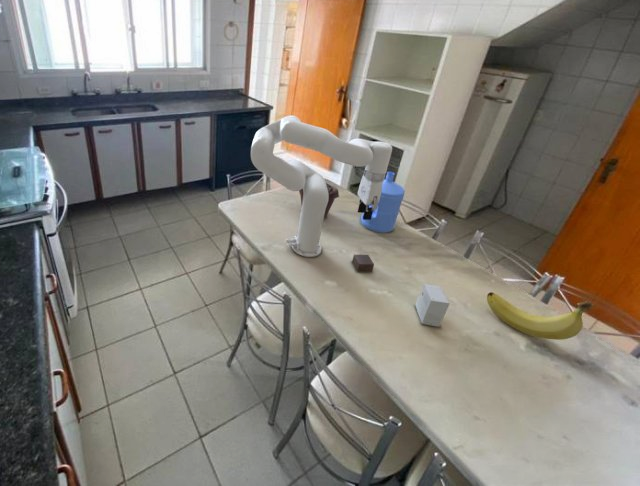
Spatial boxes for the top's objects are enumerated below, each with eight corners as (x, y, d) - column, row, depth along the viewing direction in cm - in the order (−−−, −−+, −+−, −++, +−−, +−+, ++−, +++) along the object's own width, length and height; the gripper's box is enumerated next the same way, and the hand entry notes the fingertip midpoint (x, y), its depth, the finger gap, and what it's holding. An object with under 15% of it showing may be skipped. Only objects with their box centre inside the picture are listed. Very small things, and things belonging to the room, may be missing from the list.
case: (338, 224, 161) (345, 192, 153) (297, 222, 161) (302, 189, 153) (330, 206, 177) (336, 176, 169) (293, 204, 177) (297, 174, 169)
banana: (478, 309, 115) (501, 265, 106) (484, 302, 118) (507, 258, 109) (560, 358, 99) (596, 311, 90) (565, 349, 102) (600, 302, 93)
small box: (439, 327, 107) (450, 304, 102) (421, 324, 108) (431, 300, 103) (431, 309, 114) (441, 286, 109) (414, 306, 115) (423, 283, 110)
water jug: (392, 220, 167) (407, 169, 154) (394, 236, 154) (411, 183, 141) (360, 213, 171) (372, 164, 159) (360, 229, 158) (373, 176, 145)
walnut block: (357, 272, 130) (359, 264, 128) (351, 262, 135) (353, 254, 133) (371, 272, 130) (374, 264, 128) (366, 262, 135) (368, 254, 134)
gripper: (356, 165, 131) (347, 205, 139) (374, 184, 116) (362, 227, 124) (374, 166, 131) (364, 205, 139) (394, 184, 116) (382, 227, 124)
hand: (364, 215), depth 132 cm, fingers open, 4 cm apart
